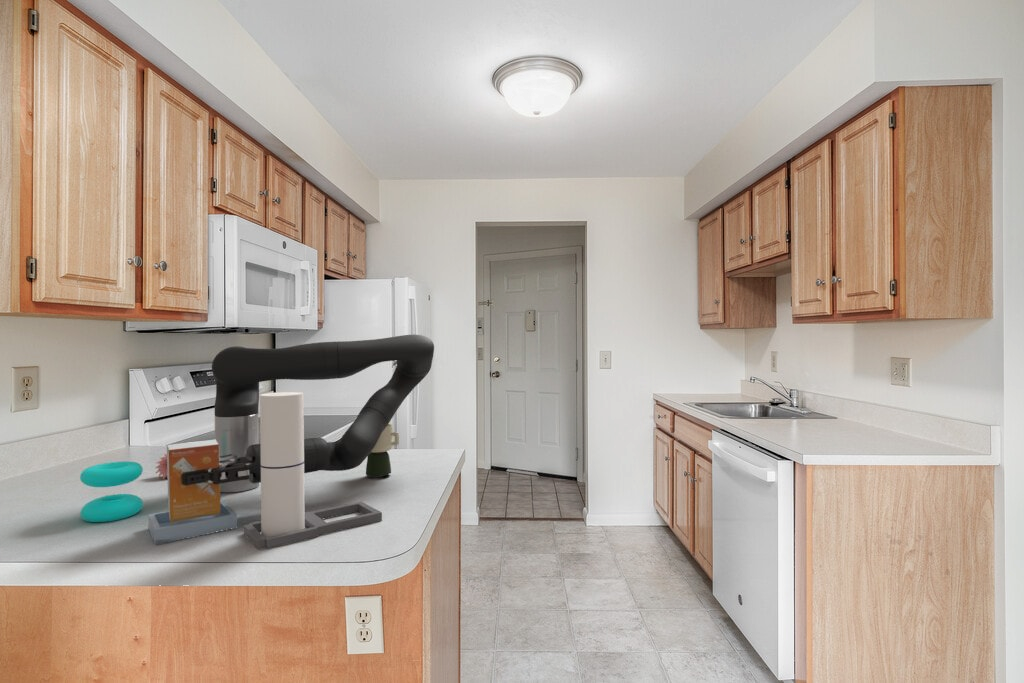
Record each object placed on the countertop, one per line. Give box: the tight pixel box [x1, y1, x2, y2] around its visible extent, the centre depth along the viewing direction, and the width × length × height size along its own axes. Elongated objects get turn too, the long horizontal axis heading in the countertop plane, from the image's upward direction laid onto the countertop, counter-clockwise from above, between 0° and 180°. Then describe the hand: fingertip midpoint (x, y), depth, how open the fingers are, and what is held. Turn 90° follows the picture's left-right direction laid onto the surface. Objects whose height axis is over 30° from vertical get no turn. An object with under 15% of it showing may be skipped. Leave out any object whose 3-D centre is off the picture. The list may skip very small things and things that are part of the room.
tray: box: [147, 500, 238, 546], centre depth 100 cm, size 11×13×3 cm
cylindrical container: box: [259, 391, 306, 538], centre depth 97 cm, size 7×7×25 cm
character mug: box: [365, 423, 400, 478], centre depth 137 cm, size 11×7×13 cm, turn 82°
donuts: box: [79, 461, 144, 523], centre depth 108 cm, size 10×10×10 cm
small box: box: [166, 438, 221, 522], centre depth 100 cm, size 8×6×13 cm
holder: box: [243, 501, 383, 550], centre depth 100 cm, size 11×22×2 cm, turn 129°
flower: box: [155, 453, 168, 480], centre depth 139 cm, size 8×8×6 cm
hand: (179, 475), depth 99 cm, fingers closed on small box, 6 cm apart
